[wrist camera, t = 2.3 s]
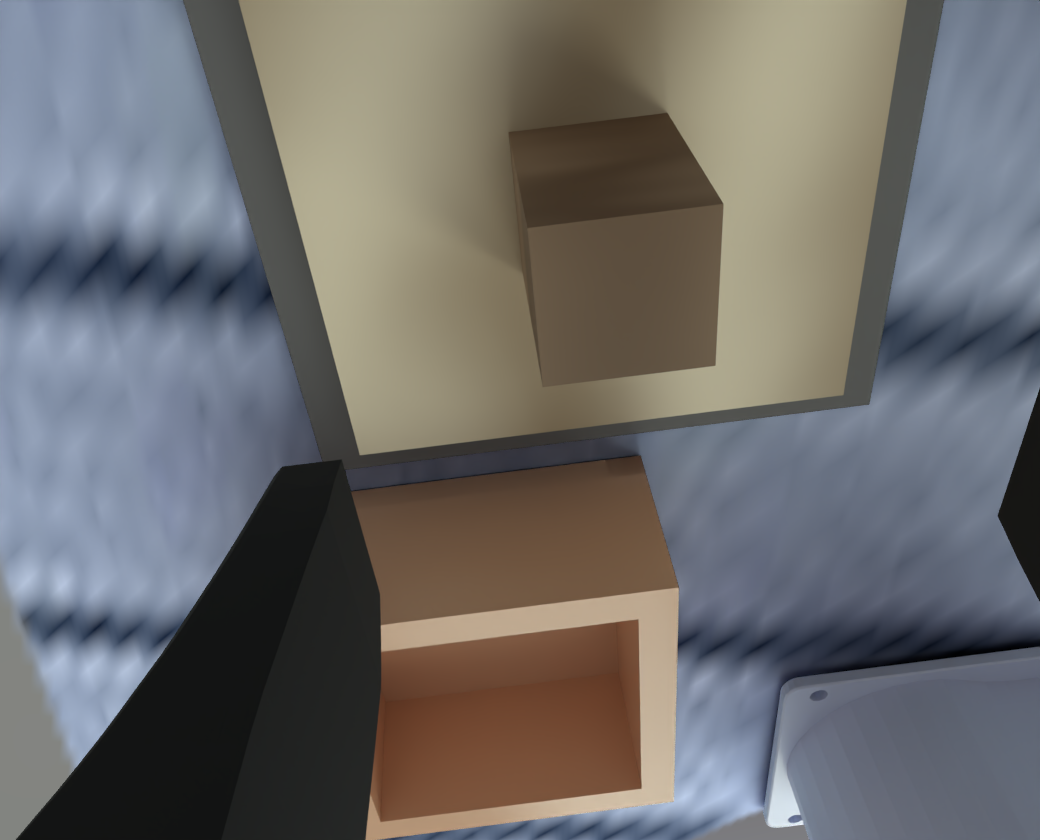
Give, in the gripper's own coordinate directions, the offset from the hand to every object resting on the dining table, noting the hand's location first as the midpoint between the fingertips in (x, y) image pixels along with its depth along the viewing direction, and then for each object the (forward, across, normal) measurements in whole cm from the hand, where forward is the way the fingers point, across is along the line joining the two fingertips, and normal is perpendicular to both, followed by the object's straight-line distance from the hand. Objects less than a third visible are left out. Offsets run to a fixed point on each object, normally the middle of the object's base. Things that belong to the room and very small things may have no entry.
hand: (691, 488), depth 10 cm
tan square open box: (+9, +3, +11) cm, 14 cm away
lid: (+8, 0, 0) cm, 8 cm away
